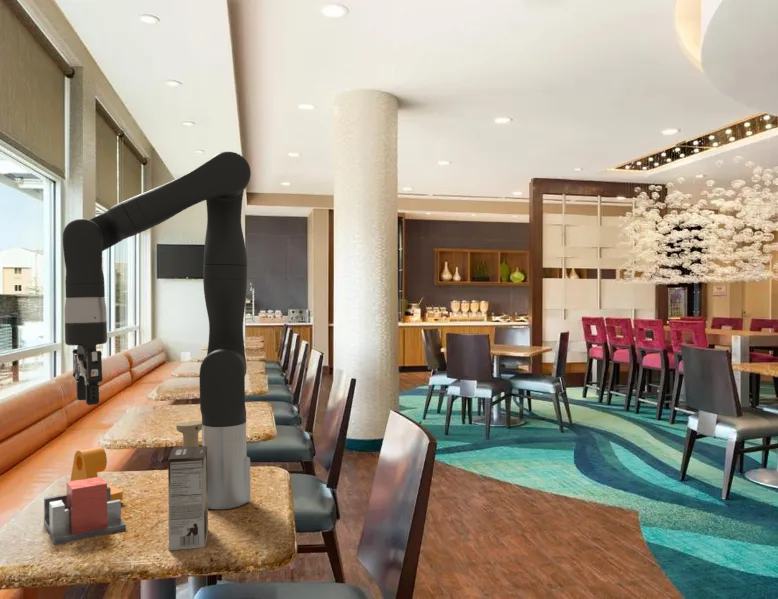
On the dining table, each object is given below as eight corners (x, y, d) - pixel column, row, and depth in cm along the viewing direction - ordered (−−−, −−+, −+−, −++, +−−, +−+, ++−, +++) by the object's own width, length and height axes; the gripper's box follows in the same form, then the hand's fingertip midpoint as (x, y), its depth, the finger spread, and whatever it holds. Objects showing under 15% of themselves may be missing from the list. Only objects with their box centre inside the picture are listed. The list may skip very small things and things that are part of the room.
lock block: (100, 517, 122) (100, 476, 122) (107, 525, 117) (107, 483, 117) (66, 523, 119) (66, 481, 119) (72, 532, 114) (72, 489, 114)
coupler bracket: (109, 510, 129) (109, 481, 129) (125, 529, 118) (125, 498, 118) (44, 522, 122) (43, 492, 122) (54, 544, 111) (54, 511, 111)
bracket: (124, 503, 134) (124, 448, 134) (90, 512, 128) (90, 454, 128) (102, 494, 141) (101, 441, 141) (69, 501, 135) (68, 447, 136)
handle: (173, 489, 144) (172, 424, 144) (196, 482, 149) (195, 420, 149) (185, 492, 141) (184, 426, 141) (209, 486, 146) (208, 422, 146)
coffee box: (173, 532, 116) (172, 446, 116) (209, 529, 118) (208, 444, 118) (167, 551, 107) (166, 458, 107) (206, 547, 109) (205, 455, 109)
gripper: (115, 320, 120) (117, 404, 120) (97, 319, 131) (99, 396, 131) (72, 321, 115) (74, 408, 115) (58, 321, 126) (60, 400, 126)
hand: (87, 402), depth 123 cm, fingers open, 8 cm apart
